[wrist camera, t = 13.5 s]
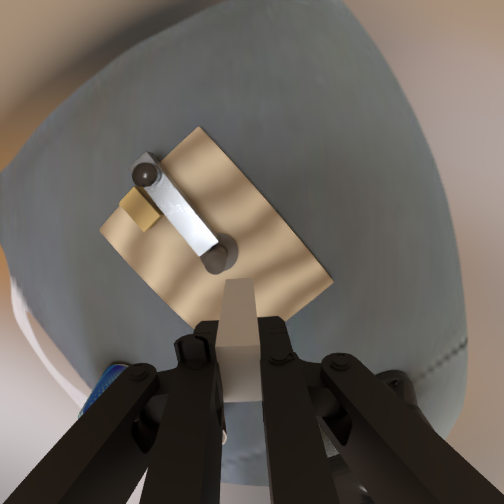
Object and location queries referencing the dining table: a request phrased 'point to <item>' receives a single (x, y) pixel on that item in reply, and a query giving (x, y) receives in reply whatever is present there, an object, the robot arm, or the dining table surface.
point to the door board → (223, 252)
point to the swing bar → (173, 203)
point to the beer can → (103, 384)
